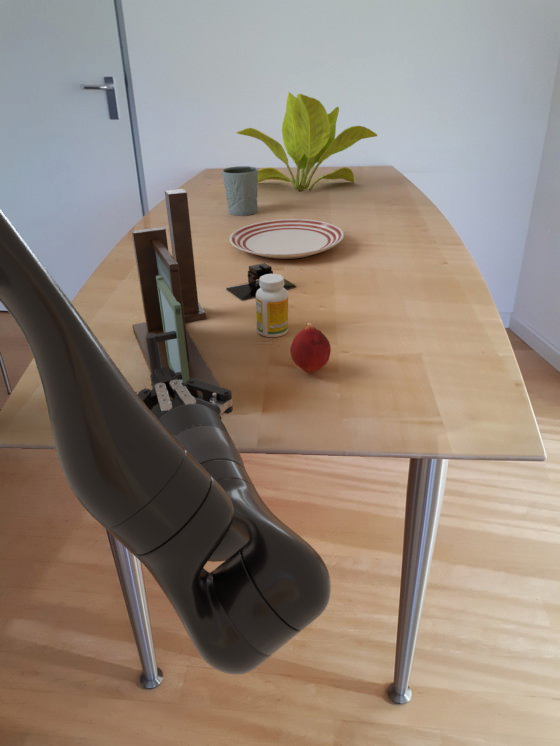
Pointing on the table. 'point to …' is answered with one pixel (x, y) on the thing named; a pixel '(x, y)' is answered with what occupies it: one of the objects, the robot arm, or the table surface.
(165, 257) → the window frame
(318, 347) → the onion
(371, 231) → the table surface
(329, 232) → the dinner plate
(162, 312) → the window sash
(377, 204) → the table surface
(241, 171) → the embossed green cup
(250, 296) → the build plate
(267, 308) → the supplement bottle
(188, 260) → the end post
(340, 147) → the artificial plant
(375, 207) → the table surface
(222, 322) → the table surface
